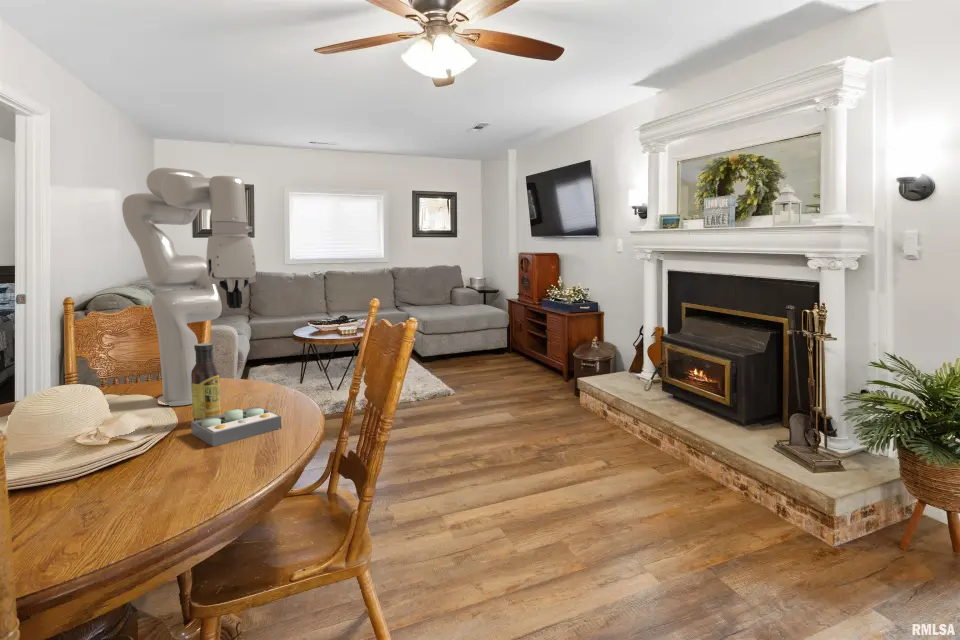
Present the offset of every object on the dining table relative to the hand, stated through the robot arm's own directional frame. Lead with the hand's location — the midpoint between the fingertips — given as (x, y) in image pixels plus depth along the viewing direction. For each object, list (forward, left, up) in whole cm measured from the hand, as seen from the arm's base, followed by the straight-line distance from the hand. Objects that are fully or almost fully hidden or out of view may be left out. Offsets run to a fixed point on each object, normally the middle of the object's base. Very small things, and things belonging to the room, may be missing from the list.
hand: (234, 307), depth 127 cm
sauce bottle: (-8, -5, -29) cm, 31 cm away
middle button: (+3, -3, -28) cm, 28 cm away
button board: (+4, -3, -29) cm, 30 cm away
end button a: (+3, -8, -29) cm, 30 cm away
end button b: (+3, +2, -29) cm, 29 cm away
